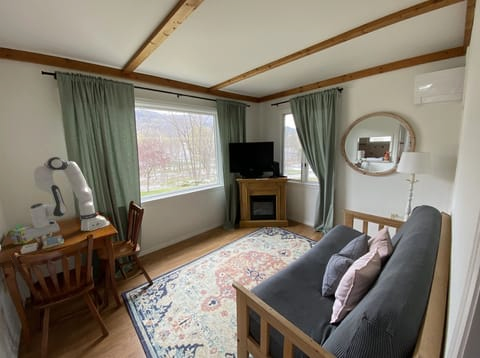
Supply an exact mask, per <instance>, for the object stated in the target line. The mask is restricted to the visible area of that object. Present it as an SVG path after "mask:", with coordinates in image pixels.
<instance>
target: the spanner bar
mask: <svg viewBox="0 0 480 358" xmlns="http://www.w3.org/2000/svg"><path fill="white" fill-rule="evenodd" d="M58 238H60V240H61V242H62V239H63V235H62V234H59V235H56V236H51V238H49V237H47V239H43V241H42V244H43V245H44V242H45V241H46V242H47V245H51V244H55V243H58V240H57V239H58Z"/></svg>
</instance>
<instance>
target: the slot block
mask: <svg viewBox="0 0 480 358" xmlns="http://www.w3.org/2000/svg"><path fill="white" fill-rule="evenodd" d="M38 243H39V242H34V243H31V244H26V245H25V244H24V245H23V246H22V247H21V249H20V252H21V255H23V254H27V253H32V252H35V251H37V250H38V248H39V244H38Z"/></svg>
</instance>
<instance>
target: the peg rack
mask: <svg viewBox="0 0 480 358" xmlns="http://www.w3.org/2000/svg"><path fill="white" fill-rule="evenodd" d="M47 238H48V237H47ZM47 238H46V239H47ZM57 240H58V243H55V244H51V245H47V242H46V241H45V242H44V245H43V246H42V250H44V249H48V248H51V247H56V246H59V245H63V244H64V241H65V240H64V238H62V242H61V240H60V238H58V239H57Z"/></svg>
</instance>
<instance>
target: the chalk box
mask: <svg viewBox="0 0 480 358" xmlns="http://www.w3.org/2000/svg"><path fill="white" fill-rule="evenodd" d="M14 227H15V228H14V229H12V230H10V231H9V235H10V238H11V243H12V245H25V244H27V243H29V242H32V241H34V240H35V238H32V239H29V240H27V239H26V238H25V234H24V233H23V230H24V229H25V228H27V227H28V226H23V225H22V224H21V223H20V224H17V225H15V226H14Z"/></svg>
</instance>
